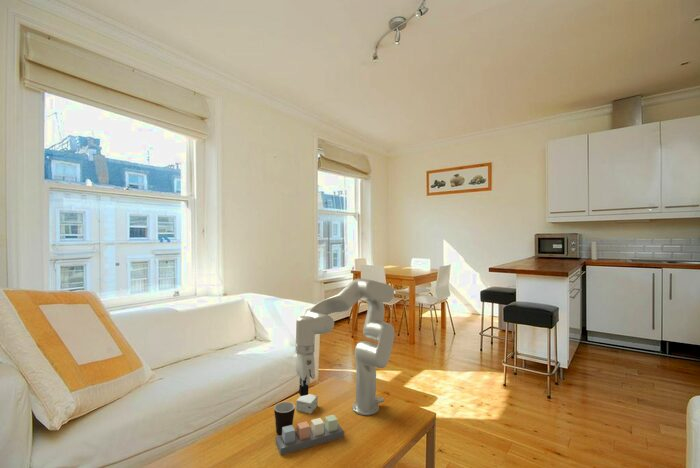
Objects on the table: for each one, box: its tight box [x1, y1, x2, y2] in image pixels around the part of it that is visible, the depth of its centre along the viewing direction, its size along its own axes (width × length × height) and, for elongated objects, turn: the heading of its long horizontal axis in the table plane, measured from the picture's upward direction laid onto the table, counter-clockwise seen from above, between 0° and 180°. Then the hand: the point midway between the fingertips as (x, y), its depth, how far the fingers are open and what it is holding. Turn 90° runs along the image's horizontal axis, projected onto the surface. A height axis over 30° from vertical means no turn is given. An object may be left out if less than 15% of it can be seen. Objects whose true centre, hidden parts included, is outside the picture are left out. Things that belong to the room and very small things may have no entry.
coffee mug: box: [273, 401, 296, 436], centre depth 136 cm, size 12×9×10 cm
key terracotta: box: [296, 420, 311, 440], centre depth 127 cm, size 4×4×4 cm
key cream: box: [310, 417, 325, 436], centre depth 130 cm, size 4×4×4 cm
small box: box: [295, 393, 319, 414], centre depth 153 cm, size 8×8×5 cm
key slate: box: [282, 424, 296, 445], centre depth 125 cm, size 4×4×4 cm
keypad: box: [275, 423, 345, 456], centre depth 129 cm, size 26×8×2 cm, turn 117°
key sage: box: [324, 414, 339, 433], centre depth 133 cm, size 4×4×4 cm
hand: (303, 394), depth 128 cm, fingers closed
